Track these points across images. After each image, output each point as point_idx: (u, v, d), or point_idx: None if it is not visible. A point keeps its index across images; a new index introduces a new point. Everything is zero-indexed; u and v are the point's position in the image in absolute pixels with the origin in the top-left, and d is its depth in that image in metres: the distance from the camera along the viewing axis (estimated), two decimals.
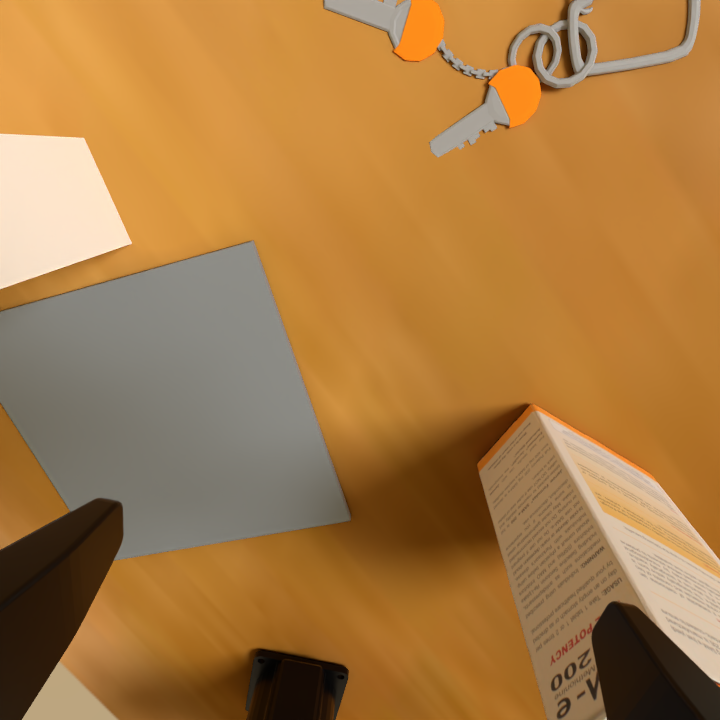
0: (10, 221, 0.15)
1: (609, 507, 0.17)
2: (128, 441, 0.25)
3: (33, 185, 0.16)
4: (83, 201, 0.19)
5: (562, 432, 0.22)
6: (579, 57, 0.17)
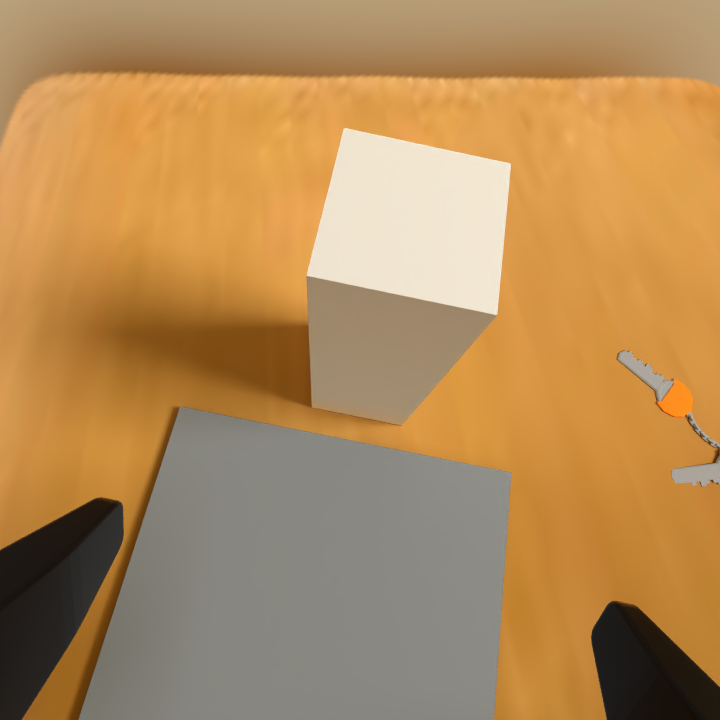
0: None
1: None
2: (255, 624, 0.19)
3: None
4: None
5: None
6: None
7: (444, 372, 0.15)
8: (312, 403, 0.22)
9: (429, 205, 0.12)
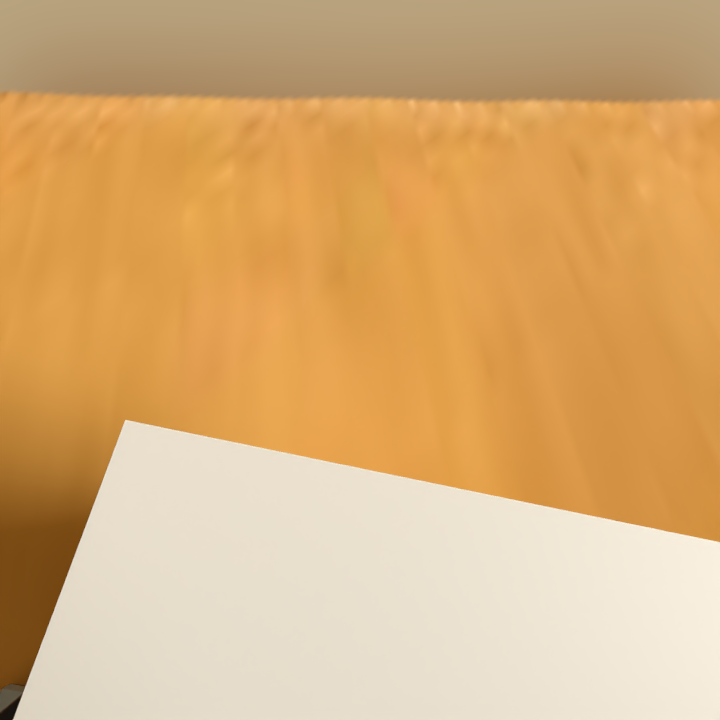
0: None
1: None
2: None
3: None
4: None
5: None
6: None
7: None
8: None
9: None
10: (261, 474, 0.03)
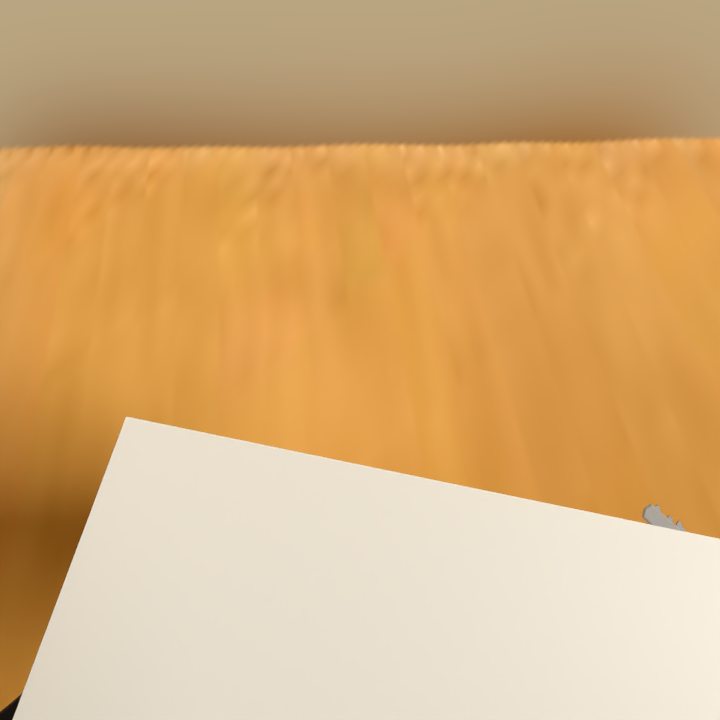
0: None
1: None
2: None
3: None
4: None
5: None
6: None
7: None
8: None
9: None
10: (262, 471, 0.03)
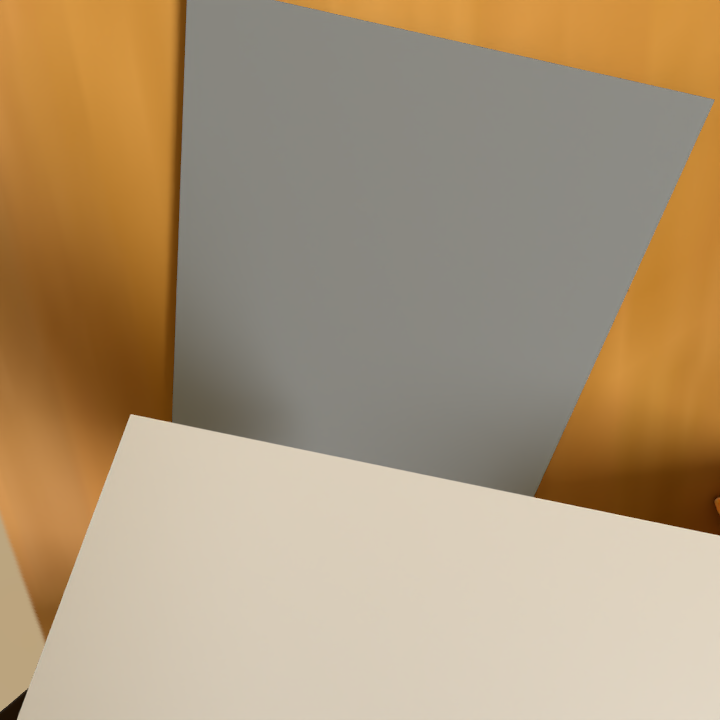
0: None
1: None
2: (331, 289, 0.17)
3: None
4: None
5: None
6: None
7: None
8: None
9: None
10: (264, 467, 0.03)
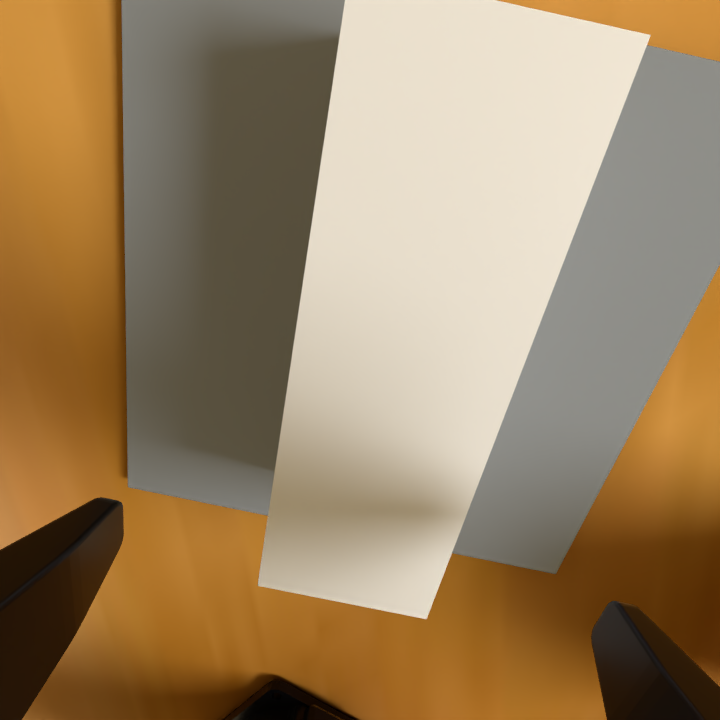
0: None
1: None
2: None
3: None
4: None
5: None
6: None
7: (538, 314, 0.09)
8: (262, 562, 0.12)
9: None
10: None
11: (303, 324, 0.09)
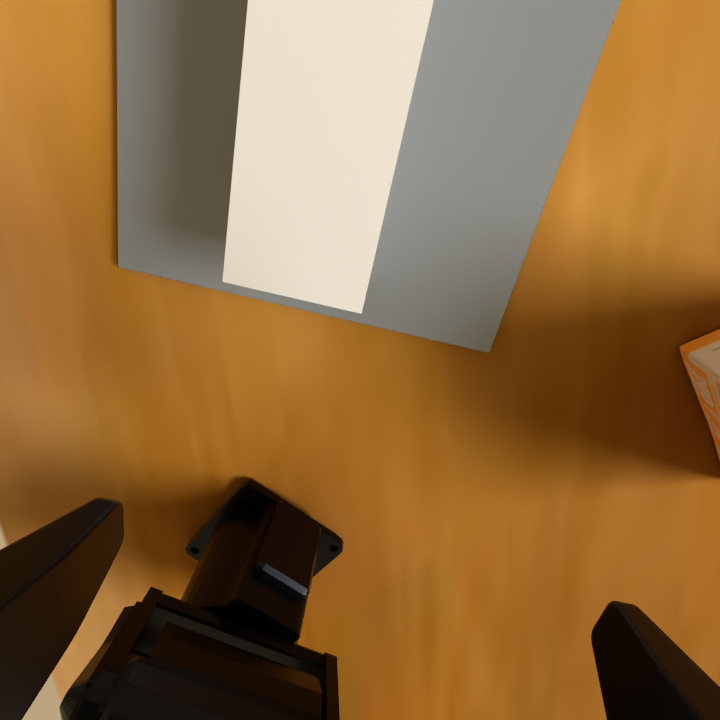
0: None
1: None
2: None
3: None
4: None
5: None
6: None
7: None
8: (226, 255, 0.14)
9: None
10: None
11: None
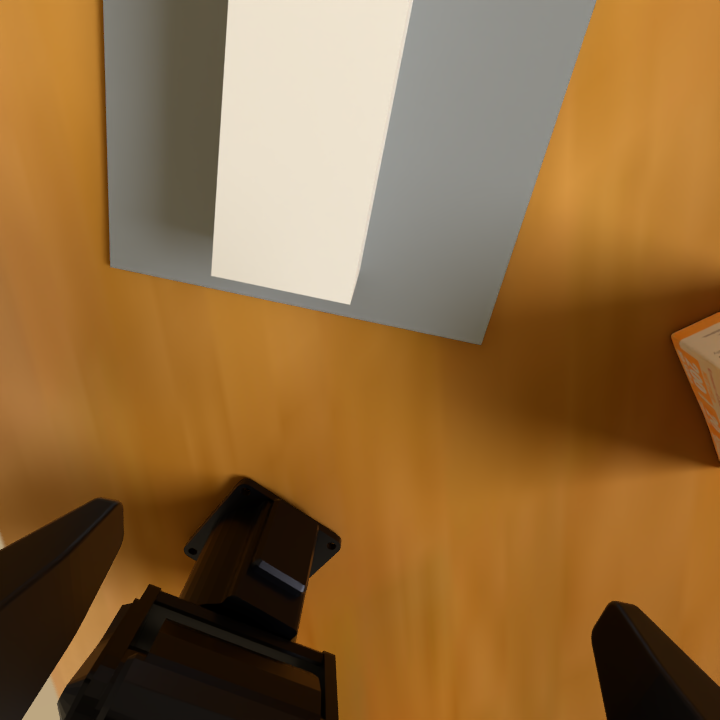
0: (392, 96, 0.14)
1: None
2: None
3: (380, 160, 0.16)
4: None
5: None
6: None
7: None
8: (214, 249, 0.15)
9: None
10: None
11: None
